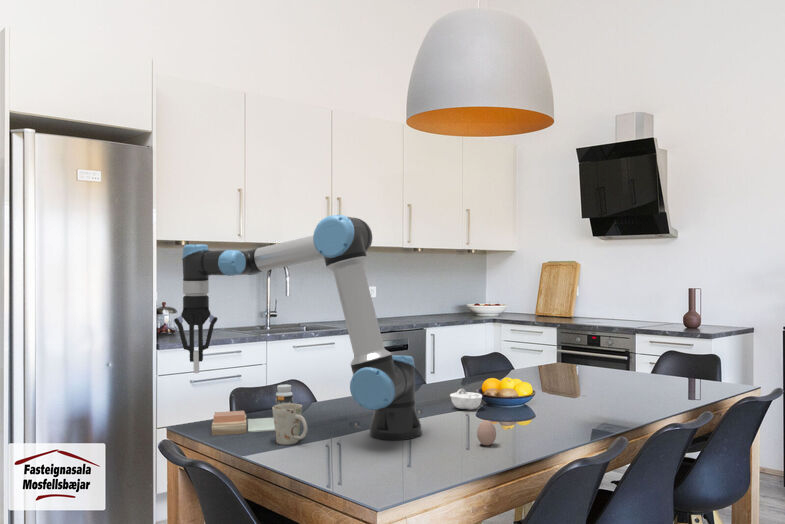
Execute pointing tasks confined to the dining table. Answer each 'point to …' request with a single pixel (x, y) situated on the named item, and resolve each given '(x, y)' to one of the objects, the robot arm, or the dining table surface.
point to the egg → (486, 433)
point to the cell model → (466, 399)
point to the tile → (229, 416)
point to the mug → (288, 423)
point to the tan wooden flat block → (229, 428)
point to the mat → (261, 425)
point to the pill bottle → (284, 394)
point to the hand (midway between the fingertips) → (196, 372)
